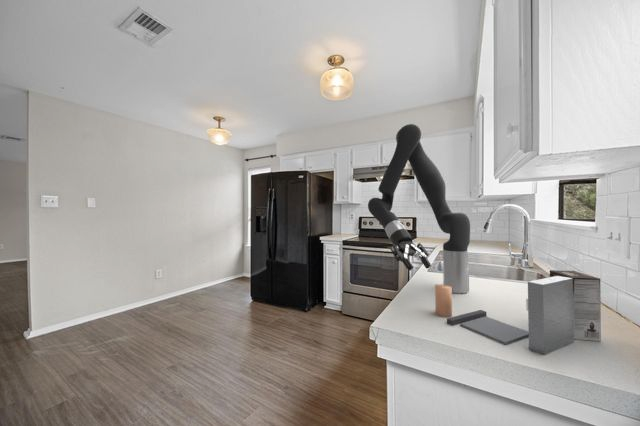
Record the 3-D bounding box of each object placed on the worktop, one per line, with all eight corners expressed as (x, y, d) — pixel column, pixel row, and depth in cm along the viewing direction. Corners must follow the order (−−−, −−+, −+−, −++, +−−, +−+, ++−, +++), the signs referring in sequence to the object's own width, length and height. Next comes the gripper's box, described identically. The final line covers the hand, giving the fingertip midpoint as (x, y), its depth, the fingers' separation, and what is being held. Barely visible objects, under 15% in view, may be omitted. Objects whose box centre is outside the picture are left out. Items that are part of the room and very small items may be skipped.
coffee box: (548, 324, 73) (547, 269, 74) (574, 326, 72) (573, 270, 72) (573, 339, 64) (572, 276, 65) (603, 342, 63) (602, 278, 63)
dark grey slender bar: (480, 315, 81) (480, 309, 81) (486, 317, 80) (486, 311, 80) (446, 324, 74) (446, 318, 74) (452, 326, 73) (452, 320, 73)
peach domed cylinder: (442, 310, 84) (442, 283, 85) (455, 315, 80) (455, 287, 80) (432, 313, 82) (431, 285, 82) (444, 318, 78) (444, 289, 78)
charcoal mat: (486, 318, 78) (486, 316, 78) (532, 335, 67) (532, 332, 67) (460, 325, 73) (460, 323, 73) (505, 344, 62) (505, 342, 62)
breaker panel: (552, 335, 67) (551, 274, 67) (573, 342, 63) (572, 278, 63) (523, 346, 61) (521, 280, 61) (544, 355, 57) (543, 284, 57)
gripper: (388, 228, 95) (410, 263, 85) (416, 227, 101) (440, 260, 90) (379, 241, 100) (399, 276, 89) (406, 239, 106) (428, 272, 95)
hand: (420, 268), depth 90 cm, fingers open, 8 cm apart
